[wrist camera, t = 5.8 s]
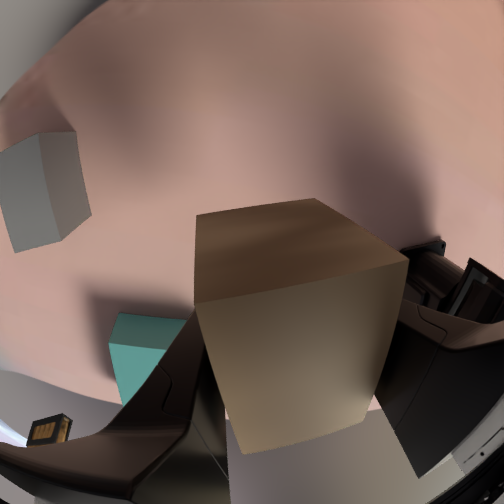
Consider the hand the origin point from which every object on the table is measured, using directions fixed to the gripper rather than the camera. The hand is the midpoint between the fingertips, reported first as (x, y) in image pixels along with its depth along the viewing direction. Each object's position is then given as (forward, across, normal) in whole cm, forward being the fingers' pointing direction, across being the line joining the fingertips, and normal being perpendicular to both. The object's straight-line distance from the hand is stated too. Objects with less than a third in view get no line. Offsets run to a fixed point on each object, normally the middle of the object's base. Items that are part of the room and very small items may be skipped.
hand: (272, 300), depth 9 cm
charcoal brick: (+10, +12, -5) cm, 16 cm away
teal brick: (+10, +8, +12) cm, 18 cm away
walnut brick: (+1, 0, 0) cm, 1 cm away
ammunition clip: (+10, +31, +24) cm, 40 cm away
